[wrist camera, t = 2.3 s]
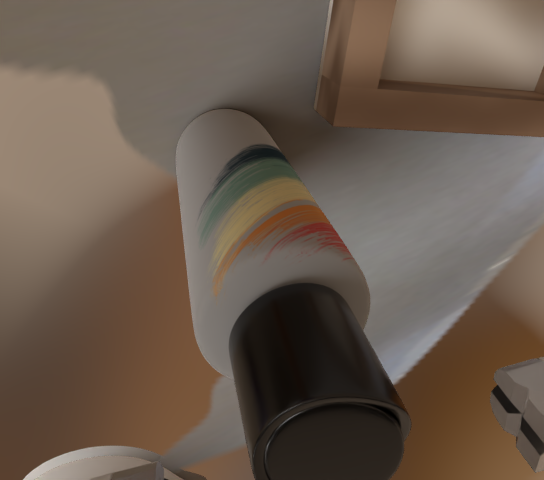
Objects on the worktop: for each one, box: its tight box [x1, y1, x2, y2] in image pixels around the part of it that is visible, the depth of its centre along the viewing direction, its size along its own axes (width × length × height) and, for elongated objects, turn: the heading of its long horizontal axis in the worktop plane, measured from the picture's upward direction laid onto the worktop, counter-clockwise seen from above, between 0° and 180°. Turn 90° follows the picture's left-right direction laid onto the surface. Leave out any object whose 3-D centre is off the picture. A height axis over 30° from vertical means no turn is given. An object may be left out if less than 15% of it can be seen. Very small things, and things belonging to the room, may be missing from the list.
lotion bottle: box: [176, 109, 411, 480], centre depth 18 cm, size 6×6×20 cm
